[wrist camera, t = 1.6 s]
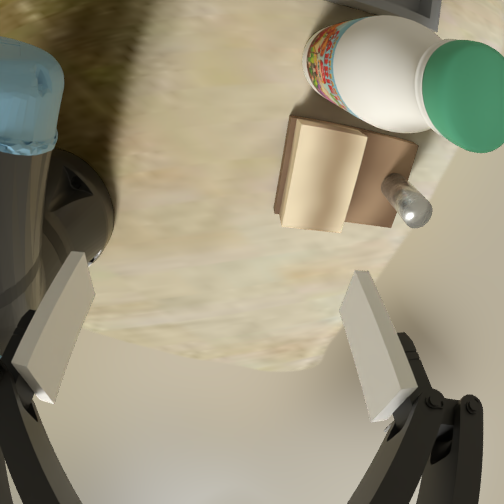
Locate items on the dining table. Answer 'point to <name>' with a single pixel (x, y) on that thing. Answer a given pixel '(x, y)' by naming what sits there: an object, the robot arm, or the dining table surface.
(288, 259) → the dining table surface
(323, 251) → the dining table surface
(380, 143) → the board
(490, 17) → the dining table surface
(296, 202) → the light wooden block
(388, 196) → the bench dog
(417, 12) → the tray
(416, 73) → the milk bottle
